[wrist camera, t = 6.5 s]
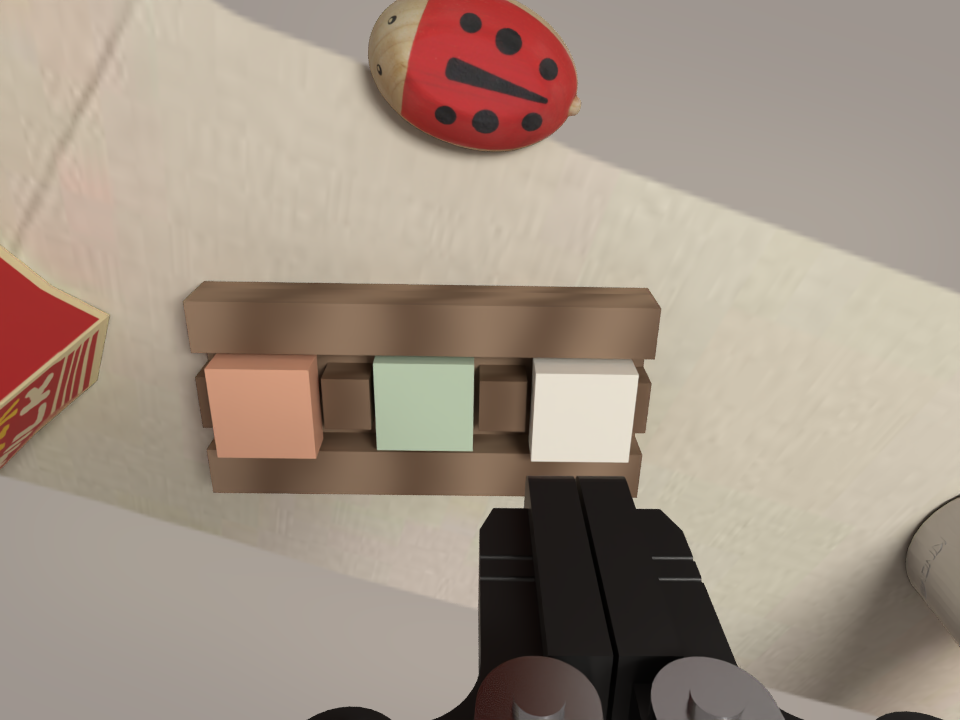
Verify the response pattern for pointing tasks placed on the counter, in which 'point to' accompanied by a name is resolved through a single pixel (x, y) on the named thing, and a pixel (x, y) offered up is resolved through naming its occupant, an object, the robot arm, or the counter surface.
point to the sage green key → (424, 402)
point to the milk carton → (41, 352)
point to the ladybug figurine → (474, 71)
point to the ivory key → (582, 409)
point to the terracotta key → (265, 405)
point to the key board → (419, 332)
